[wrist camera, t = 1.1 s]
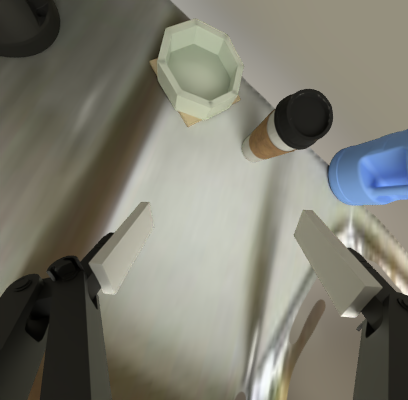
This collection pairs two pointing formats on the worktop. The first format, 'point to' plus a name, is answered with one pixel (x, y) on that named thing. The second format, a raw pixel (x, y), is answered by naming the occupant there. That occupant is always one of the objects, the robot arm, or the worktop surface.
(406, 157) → the water jug
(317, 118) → the coffee cup
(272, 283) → the worktop surface
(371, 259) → the worktop surface
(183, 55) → the bowl
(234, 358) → the worktop surface
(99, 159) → the worktop surface
